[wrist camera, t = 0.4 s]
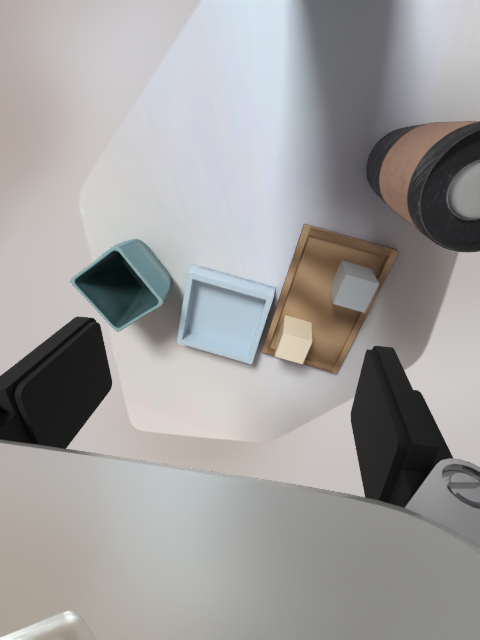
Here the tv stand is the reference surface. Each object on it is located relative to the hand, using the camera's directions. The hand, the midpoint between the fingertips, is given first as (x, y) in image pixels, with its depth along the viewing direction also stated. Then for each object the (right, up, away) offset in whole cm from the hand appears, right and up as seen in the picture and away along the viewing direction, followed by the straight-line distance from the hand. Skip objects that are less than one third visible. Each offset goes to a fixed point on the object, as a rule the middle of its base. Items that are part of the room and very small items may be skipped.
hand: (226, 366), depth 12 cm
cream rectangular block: (+8, 0, +37) cm, 38 cm away
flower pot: (-13, +10, +37) cm, 40 cm away
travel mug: (+18, +19, +25) cm, 37 cm away
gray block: (+15, +7, +32) cm, 36 cm away
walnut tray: (+12, +4, +35) cm, 37 cm away
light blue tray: (-2, +3, +38) cm, 38 cm away
